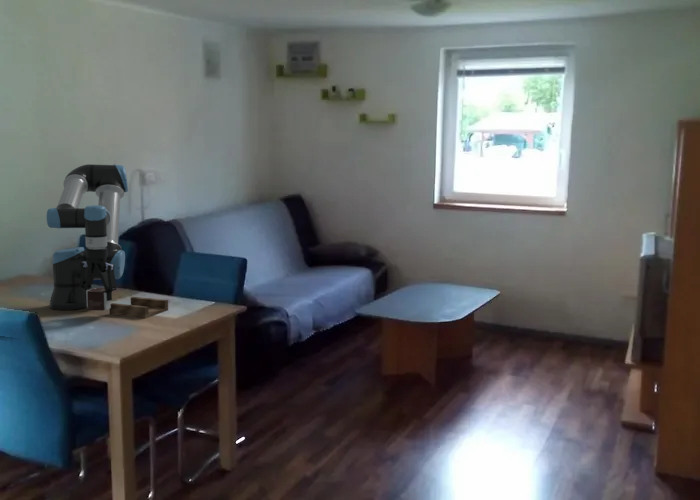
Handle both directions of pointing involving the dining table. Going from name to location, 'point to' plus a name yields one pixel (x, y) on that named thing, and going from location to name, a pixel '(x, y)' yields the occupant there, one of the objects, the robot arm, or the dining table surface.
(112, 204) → the robot arm
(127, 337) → the dining table surface
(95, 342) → the dining table surface
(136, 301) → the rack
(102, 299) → the box
